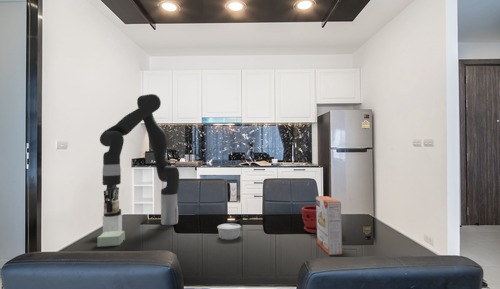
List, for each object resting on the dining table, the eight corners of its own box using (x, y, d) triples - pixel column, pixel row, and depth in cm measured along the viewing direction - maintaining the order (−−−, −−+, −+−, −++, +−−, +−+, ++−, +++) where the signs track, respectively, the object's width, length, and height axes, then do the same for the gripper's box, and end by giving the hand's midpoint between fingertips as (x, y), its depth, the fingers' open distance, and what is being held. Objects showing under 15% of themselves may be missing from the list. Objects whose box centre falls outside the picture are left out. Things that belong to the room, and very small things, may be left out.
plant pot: (330, 229, 147) (329, 205, 147) (325, 235, 135) (325, 210, 135) (305, 226, 152) (305, 204, 153) (299, 232, 140) (298, 208, 141)
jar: (103, 236, 139) (103, 212, 139) (101, 233, 145) (101, 209, 146) (123, 233, 144) (123, 210, 144) (120, 230, 150) (120, 207, 151)
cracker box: (316, 244, 123) (315, 196, 124) (329, 243, 123) (328, 195, 124) (327, 255, 109) (326, 201, 110) (342, 255, 110) (341, 201, 110)
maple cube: (118, 210, 132) (118, 200, 133) (115, 213, 128) (115, 202, 128) (107, 211, 132) (107, 200, 132) (103, 213, 127) (103, 202, 127)
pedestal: (124, 239, 134) (124, 230, 134) (119, 245, 125) (119, 236, 126) (104, 240, 133) (104, 231, 133) (97, 246, 124) (97, 237, 124)
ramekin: (244, 234, 139) (244, 224, 139) (235, 241, 129) (235, 229, 129) (223, 232, 143) (223, 222, 143) (213, 239, 132) (213, 228, 132)
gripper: (115, 175, 124) (115, 214, 123) (124, 173, 138) (124, 208, 137) (97, 175, 123) (97, 215, 122) (108, 173, 137) (108, 208, 136)
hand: (111, 211), depth 130 cm, fingers closed on maple cube, 5 cm apart
